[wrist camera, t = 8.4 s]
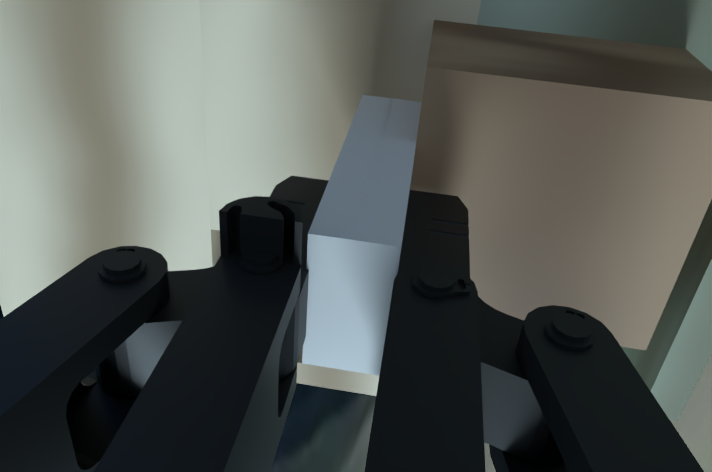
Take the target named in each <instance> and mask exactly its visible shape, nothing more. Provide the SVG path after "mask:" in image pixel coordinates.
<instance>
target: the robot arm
mask: <svg viewBox="0 0 712 472" xmlns="http://www.w3.org/2000/svg"><path fill="white" fill-rule="evenodd" d="M421 105H422V102H417V101H409V100H401V99H394V98H385V97H377V96H369V95H362V98H361V100H360V103H359V105H358V108H357V111H356V113H355V116H354V118H353V121H352V123H351V126H350V128H349V131H348V133H347V136H346V138H345V141H344V143H343V146H342V148H341V151H340V154H339V156H338V159H337V161H336V164H335V166H334V169H333V171H332V174H331V176H330V179H329V180H321V179H314V178H307V177H299V176H290V177H288V178H287V179H285V180H283V181H282V182H280V183H279V184H277V185H276V186H275V188H274V189H273V191H272V193H271V195H270V197H263V196H253V197H247V198H240V199H237V200H235V201H232V202H230V203H227V204H226V205H225V206H224V207H223V208H222V209H221V210H219V225H220V248H221V256H220V257H219V259H218V261H217V262H216V264H215V266H213V267H209V268H204V269H196V270H181V271H168V264H167V261H166V260H165V258H164V257H163V255H162V254H160V253H158V252H156V251H154V250H152V249H150V248H145V247H139V246H120V247H115V248H111V249H107V250H103V251H101V252H99V253H97V254H95V255H93V256H91V257H89V258H87V259H86V260H84V261H83V262H82V263H80V264H79V265H77V266H76V267H74V268H73V269H72V270H70V271H69V272H67V273H66V274H64V275H63V276H62V277H60V278H59V279H57V280H56V281H54V282H53V283H52V284H50V285H49V286H47V287H46V288H45V289H43V290H42V291H40V292H39V293H37V294H36V295H35V296H33V297H32V298H30V299H29V300H27V301H26V302H25V303H23V304H22V305H20V306H19V307H17V308H16V309H15V310H13V311H12V312H10V313H9V314H7V315H6V316H5V317H3V318H2V319H0V472H270V471H271V467H272V464H273V461H274V457H275V454H276V451H277V448H278V444H279V441H280V438H281V434H282V431H283V428H284V424H285V421H286V418H287V415H288V411H289V408H290V405H291V401H292V398H293V395H294V391H295V388H296V381H297V363H298V360H299V356H300V353H301V350H302V347H303V354H302V363H303V364H309V365H316V366H322V367H328V368H335V369H341V370H346V371H353V372H359V373H366V374H372V375H378V376H379V382H378V388H377V395H376V402H375V408H374V415H373V421H372V428H371V434H370V441H369V447H368V454H367V460H366V467H365V472H485V453H484V442H485V443H487V444H489V446H490V455H491V458H492V461H493V464H494V467H495V470H496V472H704V471H703V470H702V468H701V467H700V465H699V464H698V462H697V461H696V459H695V458H694V456H693V455H692V453H691V452H690V450H689V449H688V447H687V445H686V444H685V442H684V441H683V439H682V438H681V436H680V435H679V433H678V432H677V430H676V429H675V427H674V426H673V424H672V423H671V421H670V420H669V418H668V417H667V415H666V414H665V412H664V411H663V409H662V408H661V406H660V405H659V403H658V402H657V400H656V399H655V397H654V396H653V394H652V393H651V391H650V390H649V388H648V387H647V385H646V384H645V382H644V381H643V379H642V378H641V376H640V375H639V373H638V372H637V370H636V369H635V367H634V366H633V364H632V363H631V361H630V360H629V358H628V357H627V355H626V354H625V352H624V351H623V349H622V348H621V346H620V345H619V343H618V342H617V340H616V338H615V337H614V335H613V334H612V333H611V332H610V331H609V330H608V329H607V327H606V326H605V325H604V324H603V323H602V322H600V321H599V320H597V319H595V318H594V317H592V316H591V315H589V314H587V313H585V312H582V311H579V310H576V309H574V308H571V307H564V306H556V305H550V306H543V307H538V308H536V309H534V310H533V311H531V312H529V313H528V314H527V316H526V318H525V320H521V319H518V318H516V317H513V316H510V315H507V314H505V313H503V312H501V311H498V310H496V309H494V308H493V307H491V306H490V305H488V304H486V303H485V302H484V301H483V300H482V299H481V298H480V297H479V296H478V291H477V288H476V286H475V283H474V282H473V281H472V280H471V279H470V253H469V226H468V225H469V218H468V209H467V207H466V206H465V205H464V204H463V202H462V201H461V200H460V198H459V197H458V196H453V195H446V194H438V193H431V192H423V191H416V190H410V184H411V177H412V170H413V163H414V156H415V149H416V140H417V133H418V126H419V119H420V112H421ZM94 368H95V370H94V371H93V372H92V373H91V374H90V375H89V376H88V377H86V376H87V375H88V374H89V373H90V372H91V371H92V370H93V369H94ZM85 377H86V378H85ZM83 378H84V379H83ZM82 379H83V380H82Z"/></svg>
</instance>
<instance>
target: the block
mask: <svg viewBox="0 0 712 472" xmlns="http://www.w3.org/2000/svg"><path fill="white" fill-rule="evenodd" d="M410 190H416V191H423V192H431V193H438V194H446V195H453V196H458V197H459V198H460V200H461V201H462V202H463V204H464V205H465V206H466V207H467V209H468V218H469V225H468V226H469V253H470V279H471V280H472V281H473V282H474V283H475V286H476V288H477V291H478V296H479V297H480V298H481V299H482V300H483V301H484V302H485V303H486V304H488V305H490V306H491V307H493V308H494V309H496V310H498V311H501V312H503V313H505V314H507V315H510V316H513V317H516V318H518V319H521V320H525V318H526V316H527V314H528V313H529V312H531V311H533V310H534V309H536V308H538V307H543V306H550V305H556V306H564V307H571V308H574V309H576V310H579V311H582V312H585V313H587V314H589V315H591V316H592V317H594V318H595V319H597V320H599V321H600V322H602V323H603V324H604V325H605V326H606V327H607V329H608V330H609V331H610V332H611V333H612V334H613V335H614V337H615V338H616V340H617V342H618V343H619V345H620V346H621V347H627V348H633V349H640V350H646V349H647V347H648V345H649V342H650V340H651V338H652V335H653V333H654V331H655V328H656V326H657V324H658V322H659V319H660V317H661V315H662V312H663V310H664V308H665V305H666V303H667V301H668V298H669V296H670V294H671V292H672V289H673V287H674V285H675V282H676V280H677V278H678V275H679V273H680V271H681V269H682V266H683V264H684V262H685V259H686V257H687V255H688V252H689V250H690V248H691V245H692V243H693V241H694V239H695V236H696V234H697V232H698V229H699V227H700V225H701V222H702V220H703V218H704V216H705V213H706V211H707V209H708V206H709V204H710V202H711V199H712V71H711V70H710V69H708V68H707V67H706V66H705V65H704V64H703V63H701V62H700V61H699V60H698V59H697V58H696V57H695V56H693V55H692V54H691V53H690V52H689V51H688V50H686V49H683V48H675V47H666V46H657V45H648V44H640V43H631V42H622V41H614V40H605V39H596V38H588V37H579V36H570V35H562V34H553V33H544V32H536V31H527V30H518V29H510V28H501V27H492V26H483V25H475V24H466V23H457V22H449V21H440V20H434V24H433V30H432V37H431V43H430V50H429V56H428V63H427V69H426V76H425V84H424V91H423V98H422V105H421V112H420V119H419V126H418V133H417V140H416V149H415V156H414V163H413V170H412V177H411V184H410Z"/></svg>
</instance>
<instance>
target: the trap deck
mask: <svg viewBox="0 0 712 472" xmlns="http://www.w3.org/2000/svg"><path fill="white" fill-rule="evenodd" d="M434 20H440V21H449V22H457V23H466V24H475V25H483V26H492V27H501V28H510V29H518V30H527V31H536V32H544V33H553V34H562V35H570V36H579V37H588V38H596V39H605V40H614V41H622V42H631V43H640V44H648V45H657V46H666V47H675V48H683V49H686V50H688V51H689V52H690V53H691V54H692V55H693V56H695V57H696V58H697V59H698V60H699V61H700V62H701V63H703V64H704V65H705V66H706V67H707V68H708V69H710V70H711V71H712V0H0V305H1V308H2V312H3V315H4V317H5V316H6V315H7V314H9V313H10V312H12V311H13V310H15V309H16V308H17V307H19V306H20V305H22V304H23V303H25V302H26V301H27V300H29V299H30V298H32V297H33V296H35V295H36V294H37V293H39V292H40V291H42V290H43V289H45V288H46V287H47V286H49V285H50V284H52V283H53V282H54V281H56V280H57V279H59V278H60V277H62V276H63V275H64V274H66V273H67V272H69V271H70V270H72V269H73V268H74V267H76V266H77V265H79V264H80V263H82V262H83V261H84V260H86V259H87V258H89V257H91V256H93V255H95V254H97V253H99V252H101V251H103V250H107V249H111V248H115V247H120V246H139V247H145V248H150V249H152V250H154V251H156V252H158V253H160V254H162V255H163V257H164V258H165V260H166V261H167V264H168V271H181V270H196V269H204V268H209V267H213V266H215V264H216V262H217V261H218V259H219V257H220V256H221V248H220V225H219V210H221V209H222V208H223V207H224V206H225V205H226V204H227V203H230V202H232V201H235V200H237V199H240V198H247V197H253V196H263V197H270V195H271V193H272V191H273V189H274V188H275V186H276V185H277V184H279V183H280V182H282V181H283V180H285V179H287V178H288V177H290V176H299V177H307V178H314V179H321V180H329V179H330V176H331V174H332V171H333V169H334V166H335V164H336V161H337V159H338V156H339V154H340V151H341V148H342V146H343V143H344V141H345V138H346V136H347V133H348V131H349V128H350V126H351V123H352V121H353V118H354V116H355V113H356V111H357V108H358V105H359V103H360V100H361V98H362V95H369V96H377V97H385V98H394V99H401V100H409V101H417V102H422V98H423V91H424V84H425V76H426V69H427V63H428V56H429V50H430V43H431V37H432V30H433V24H434ZM621 348H622V349H623V351H624V352H625V354H626V355H627V357H628V358H629V360H630V361H631V363H632V364H633V366H634V367H635V369H636V370H637V372H638V373H639V375H640V376H641V378H642V379H643V381H644V382H645V384H646V385H647V387H648V388H649V390H650V391H651V393H652V394H653V396H654V397H655V399H656V400H657V402H658V403H659V405H660V406H661V408H662V409H663V411H664V412H665V414H666V415H667V417H668V418H669V420H673V421H678V419H679V417H680V415H681V413H682V411H683V409H684V407H685V405H686V403H687V401H688V399H689V397H690V395H691V393H692V391H693V389H694V387H695V385H696V383H697V381H698V379H699V378H700V376H701V374H702V372H703V370H704V368H705V366H706V364H707V362H708V360H709V358H710V356H711V354H712V199H711V202H710V204H709V206H708V209H707V211H706V213H705V216H704V218H703V220H702V222H701V225H700V227H699V229H698V232H697V234H696V236H695V239H694V241H693V243H692V245H691V248H690V250H689V252H688V255H687V257H686V259H685V262H684V264H683V266H682V269H681V271H680V273H679V275H678V278H677V280H676V282H675V285H674V287H673V289H672V292H671V294H670V296H669V298H668V301H667V303H666V305H665V308H664V310H663V312H662V315H661V317H660V319H659V322H658V324H657V326H656V328H655V331H654V333H653V335H652V338H651V340H650V342H649V345H648V347H647V349H646V350H640V349H633V348H627V347H621ZM302 354H303V347H302V350H301V353H300V356H299V360H298V363H297V381H296V383H300V384H306V385H312V386H319V387H325V388H331V389H337V390H343V391H349V392H355V393H361V394H367V395H374V396H376V395H377V388H378V382H379V376H378V375H372V374H366V373H359V372H353V371H346V370H341V369H335V368H328V367H322V366H316V365H309V364H303V363H302Z"/></svg>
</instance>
